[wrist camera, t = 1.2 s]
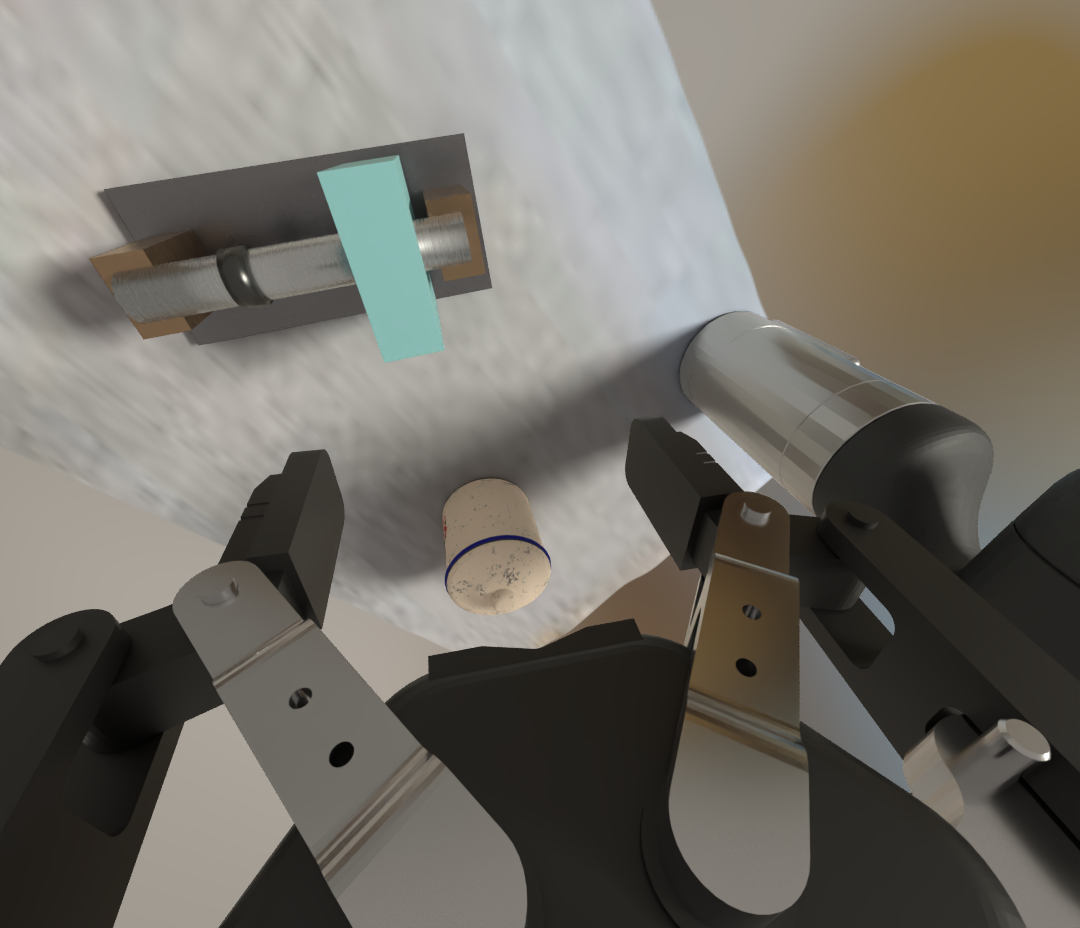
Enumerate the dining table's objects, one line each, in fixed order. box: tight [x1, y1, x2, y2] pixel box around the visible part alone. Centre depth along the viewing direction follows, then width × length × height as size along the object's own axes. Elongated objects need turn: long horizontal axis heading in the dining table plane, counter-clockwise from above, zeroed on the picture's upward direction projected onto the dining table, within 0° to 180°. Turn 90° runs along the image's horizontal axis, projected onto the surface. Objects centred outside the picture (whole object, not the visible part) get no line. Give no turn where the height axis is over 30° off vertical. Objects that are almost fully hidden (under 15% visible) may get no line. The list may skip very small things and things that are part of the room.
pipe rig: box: [89, 133, 492, 345], centre depth 26 cm, size 20×9×8 cm, turn 97°
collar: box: [317, 155, 444, 363], centre depth 24 cm, size 3×8×9 cm, turn 7°
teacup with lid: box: [442, 478, 551, 615], centre depth 41 cm, size 12×9×12 cm
